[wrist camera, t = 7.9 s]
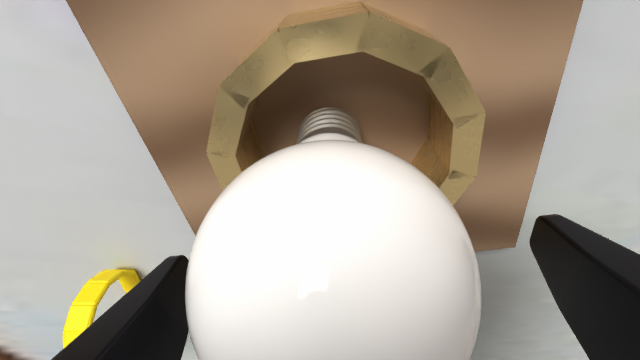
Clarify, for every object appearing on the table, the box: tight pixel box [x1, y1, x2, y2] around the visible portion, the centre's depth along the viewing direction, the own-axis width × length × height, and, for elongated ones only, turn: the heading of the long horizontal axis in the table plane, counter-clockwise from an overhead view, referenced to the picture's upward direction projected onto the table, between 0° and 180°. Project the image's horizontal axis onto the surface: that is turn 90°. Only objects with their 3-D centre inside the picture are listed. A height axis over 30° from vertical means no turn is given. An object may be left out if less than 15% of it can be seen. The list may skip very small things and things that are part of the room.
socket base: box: [66, 0, 583, 251], centre depth 14 cm, size 18×18×1 cm
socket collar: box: [206, 1, 486, 205], centre depth 13 cm, size 10×10×3 cm
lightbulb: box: [185, 107, 482, 360], centre depth 9 cm, size 6×6×11 cm
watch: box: [63, 269, 140, 349], centre depth 20 cm, size 6×3×6 cm, turn 1°
